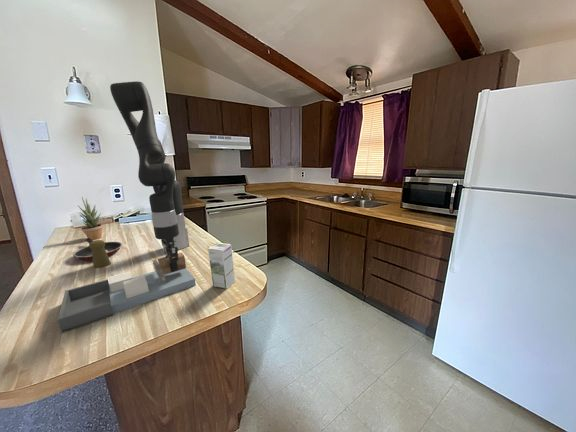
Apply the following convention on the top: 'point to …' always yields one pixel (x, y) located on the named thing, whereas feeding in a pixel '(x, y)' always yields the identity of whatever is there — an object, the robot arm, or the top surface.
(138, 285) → the tile
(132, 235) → the top surface
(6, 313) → the top surface
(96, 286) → the tray
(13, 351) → the top surface
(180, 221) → the robot arm
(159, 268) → the scraper
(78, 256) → the frying pan
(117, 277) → the tile
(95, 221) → the potted plant
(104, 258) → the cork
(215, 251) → the syrup box
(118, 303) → the board
